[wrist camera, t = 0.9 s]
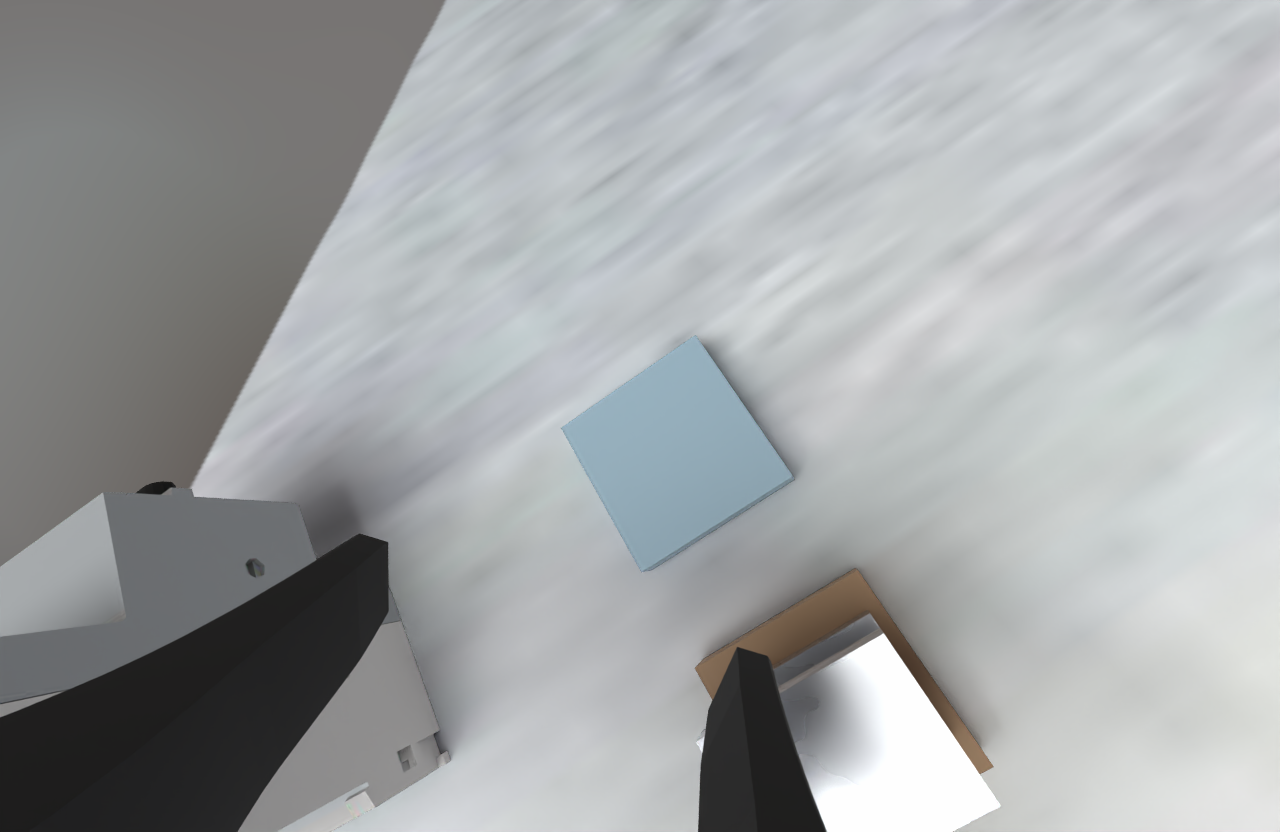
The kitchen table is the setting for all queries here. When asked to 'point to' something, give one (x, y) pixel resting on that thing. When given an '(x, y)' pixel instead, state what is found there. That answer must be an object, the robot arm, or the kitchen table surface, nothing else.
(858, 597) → the stand
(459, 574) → the kitchen table surface
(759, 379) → the kitchen table surface
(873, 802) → the i-beam
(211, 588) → the circuit breaker
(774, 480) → the stand
